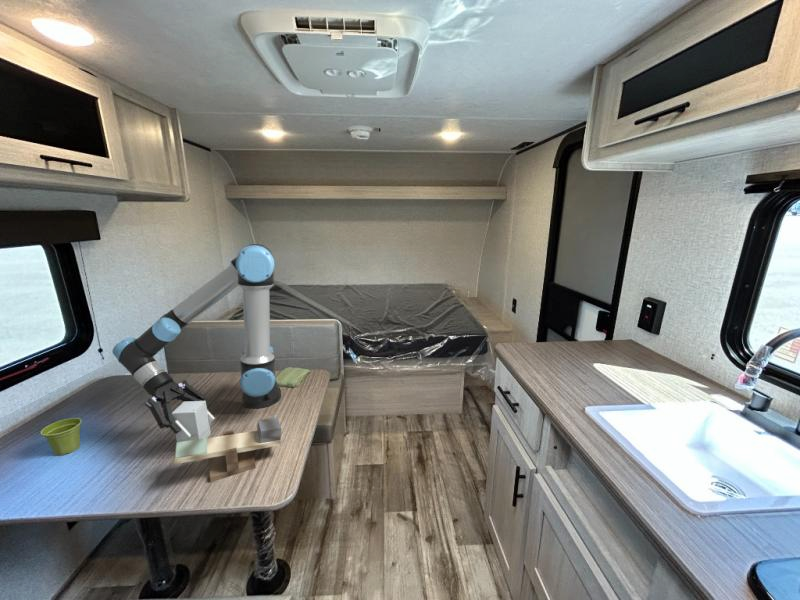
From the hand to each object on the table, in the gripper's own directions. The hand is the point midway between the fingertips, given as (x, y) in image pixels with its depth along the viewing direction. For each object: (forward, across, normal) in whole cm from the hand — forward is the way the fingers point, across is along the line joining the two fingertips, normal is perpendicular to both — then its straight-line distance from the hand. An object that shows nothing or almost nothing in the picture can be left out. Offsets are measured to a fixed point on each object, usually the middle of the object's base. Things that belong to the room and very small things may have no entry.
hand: (200, 429), depth 111 cm
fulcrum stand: (+15, +4, +6) cm, 17 cm away
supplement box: (+1, 0, -6) cm, 6 cm away
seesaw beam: (+11, +4, +10) cm, 15 cm away
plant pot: (-25, +13, -34) cm, 44 cm away
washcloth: (+5, -52, -6) cm, 52 cm away
